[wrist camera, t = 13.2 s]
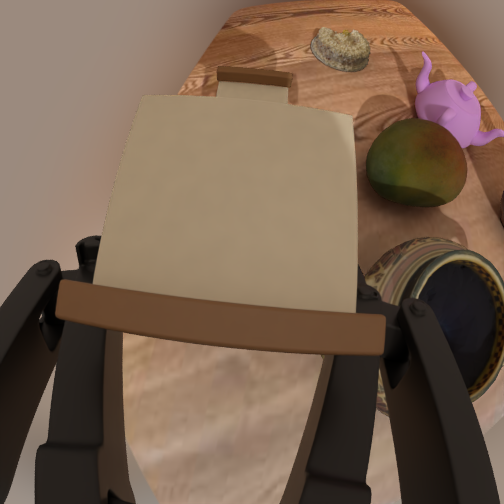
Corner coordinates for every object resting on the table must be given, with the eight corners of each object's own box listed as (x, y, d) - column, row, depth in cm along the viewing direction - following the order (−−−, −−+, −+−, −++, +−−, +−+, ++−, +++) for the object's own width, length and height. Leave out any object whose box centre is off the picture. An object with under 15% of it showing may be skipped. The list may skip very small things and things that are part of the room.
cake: (376, 73, 44) (388, 54, 39) (323, 76, 43) (332, 53, 38) (352, 34, 45) (361, 14, 40) (301, 35, 44) (307, 13, 39)
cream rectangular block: (173, 328, 18) (52, 317, 5) (187, 225, 20) (126, 66, 7) (283, 340, 18) (385, 356, 5) (291, 236, 20) (373, 90, 7)
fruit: (450, 198, 38) (493, 167, 29) (395, 244, 36) (440, 216, 26) (401, 133, 40) (432, 91, 31) (339, 167, 38) (367, 120, 28)
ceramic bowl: (280, 374, 34) (300, 447, 19) (314, 217, 34) (360, 194, 19) (451, 387, 35) (518, 431, 20) (482, 260, 35) (564, 263, 20)
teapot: (400, 85, 43) (422, 49, 34) (464, 107, 43) (489, 79, 35) (413, 143, 40) (443, 108, 31) (480, 163, 40) (512, 137, 32)
